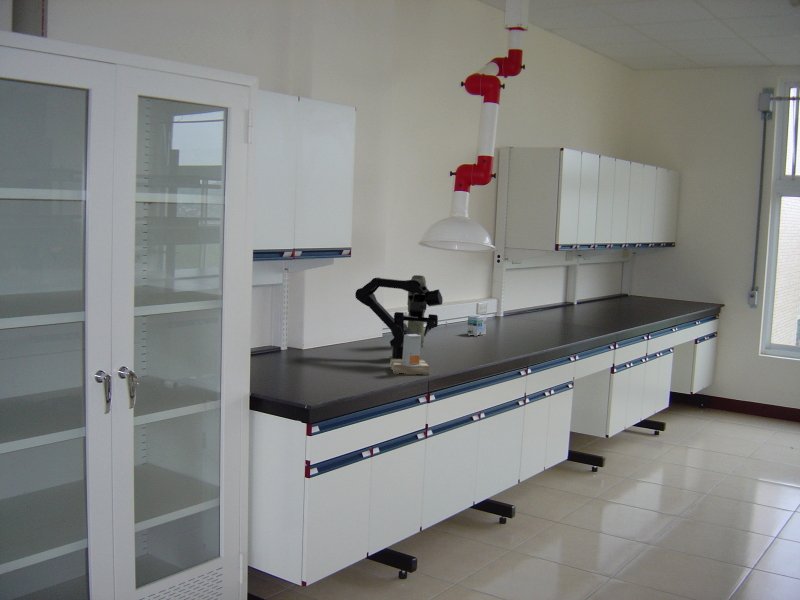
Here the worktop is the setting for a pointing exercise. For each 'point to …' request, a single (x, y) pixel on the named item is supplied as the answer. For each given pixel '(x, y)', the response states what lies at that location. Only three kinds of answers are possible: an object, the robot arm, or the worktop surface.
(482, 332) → the light bulb box
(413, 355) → the skincare box
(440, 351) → the worktop surface
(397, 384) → the worktop surface
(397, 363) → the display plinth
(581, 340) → the worktop surface
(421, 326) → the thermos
